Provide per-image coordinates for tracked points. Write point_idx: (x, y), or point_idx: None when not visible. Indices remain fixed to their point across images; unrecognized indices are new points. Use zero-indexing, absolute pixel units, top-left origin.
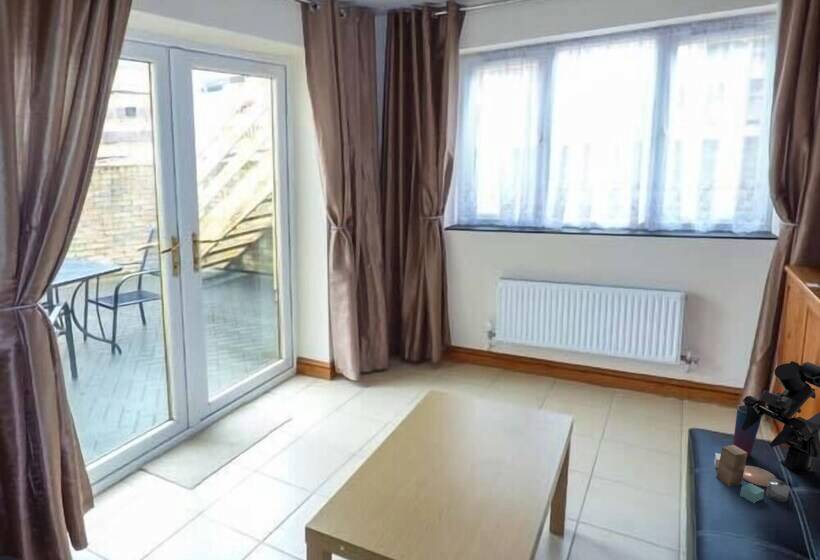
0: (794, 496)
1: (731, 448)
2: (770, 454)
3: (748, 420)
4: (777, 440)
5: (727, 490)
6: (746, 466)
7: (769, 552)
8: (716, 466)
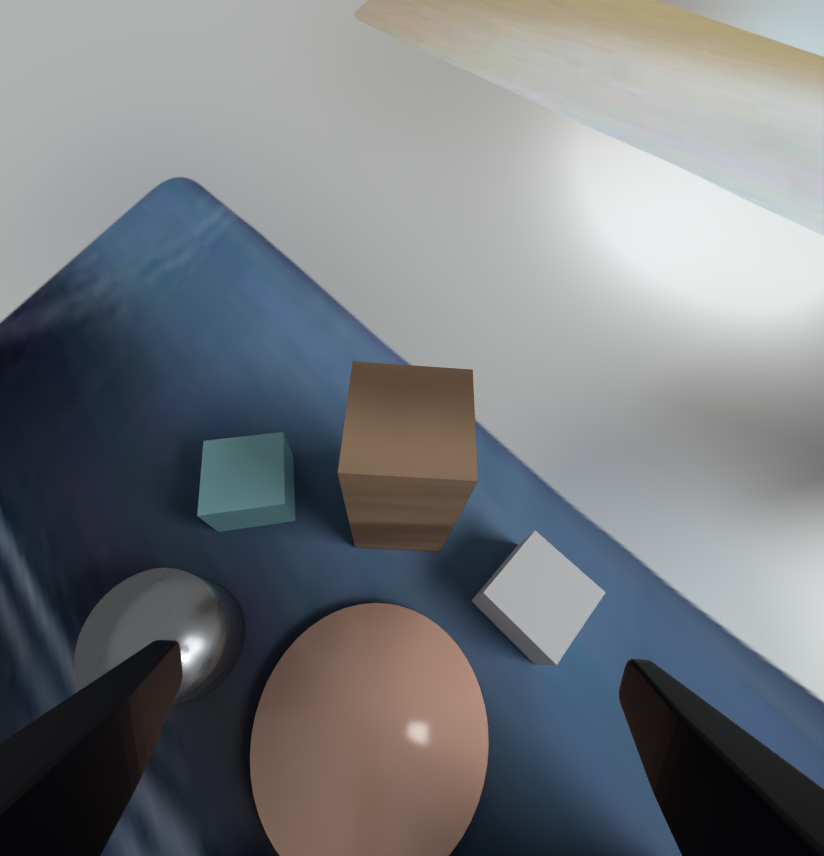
0: None
1: (435, 410)
2: None
3: (797, 840)
4: (18, 737)
5: None
6: (477, 758)
7: (50, 283)
8: (516, 547)
